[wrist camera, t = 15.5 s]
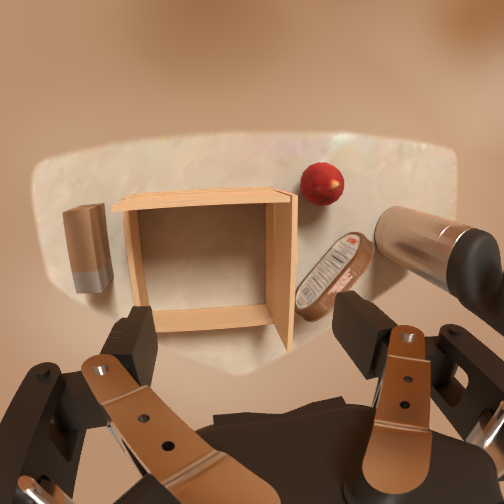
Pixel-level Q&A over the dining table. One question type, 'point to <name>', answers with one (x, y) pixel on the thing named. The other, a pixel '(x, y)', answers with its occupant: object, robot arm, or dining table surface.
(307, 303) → the tin
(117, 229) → the dining table surface
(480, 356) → the robot arm
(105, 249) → the box
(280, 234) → the carton
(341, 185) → the onion
